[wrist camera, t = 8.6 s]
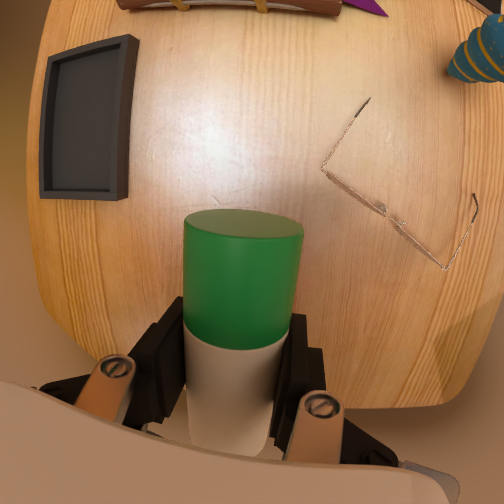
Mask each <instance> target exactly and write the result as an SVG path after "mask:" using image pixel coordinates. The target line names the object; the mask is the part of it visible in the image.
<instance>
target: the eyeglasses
mask: <svg viewBox="0 0 504 504" xmlns="http://www.w3.org/2000/svg"><path fill="white" fill-rule="evenodd" d="M370 98H371V97H370ZM369 100H370V99H369ZM369 100H368V101H367V102H366V103H365V104H364V105H363V106H362V107H361V109H360V110H359V111H358V113H357V114H356V115H355V118H356V117H357V116H358V114H359V113H360V112H361V110H362V109H363V108H364V106H365V105H366V104H367V103H368V102H369ZM355 118H354V119H353V121H354V120H355ZM353 121H352V122H351V123H350V125H349V126H348V128H347V129H346V131H345V132H344V134H343V135H342V137H341V138H340V140H339V141H338V142H337V144H336V145H335V147H334V148H333V150H332V151H331V153H330V154H329V156H328V157H327V158H326V160H325V161H324V163H323V164H322V167H321V171H322V172H324V173H325V174H326V176H327V177H328V178H329V179H330V180H331V181H332V182H334V183H335V184H336V185H337V186H339V187H340V188H341V189H343V190H344V191H345V192H347V193H348V194H349V195H351V196H352V197H354V198H355V199H356V200H358V201H359V202H361V203H362V204H364V205H365V206H366V207H368V208H370V209H371V210H373V211H375V212H377V213H378V214H380V215H382V216H384V217H387V218H389V219H391V220H393V221H394V222H395V223H396V224H397V225H398V226H396V227H395V230H396V231H397V232H398V233H399V234H400V235H401V236H403V237H404V238H405V239H406V240H407V241H408V242H409V243H411V244H412V245H413V246H414V247H415V248H416V249H418V250H419V251H420V252H421V253H423V254H424V255H425V256H427V257H428V258H430V259H431V260H433V261H434V262H436V263H437V264H438V265H440V266H441V268H442V269H443V270H445V271H446V270H447V269H448V268H449V266H450V265H451V263H452V261H453V259H454V258H455V256H456V254H457V252H458V250H459V248H460V247H461V245H462V243H463V241H464V239H465V237H466V235H467V233H468V231H469V229H470V227H471V225H472V223H473V222H474V220H475V217H476V215H477V212H478V203H477V200H476V197H475V193H474V194H473V197H474V199H475V202H476V205H477V210H476V213H475V215H474V217H473V220H472V222H471V224H470V226H469V228H468V230H467V232H466V234H465V236H464V237H463V239H462V241H461V243H460V245H459V246H458V248H457V250H456V252H455V253H454V255H453V257H452V258H451V260H450V262H449V263H448V265H447V267H446V268H445V267H444V266H443V265H442V264H441V263H440V262H439V261H438V260H437V259H436V258H434V257H433V256H432V255H431V254H430V253H429V252H428V251H427V250H426V249H425V248H424V247H422V246H421V245H420V244H419V243H418V242H417V241H416V240H415V239H414V238H412V237H411V236H410V235H409V234H408V233H407V232H405V231H404V230H403V229H402V228H401V226H402V225H403V224H407V222H397V221H395V220H394V219H393V218H391V217H389V216H386V215H385V214H384V212H388V209H387V206H386V204H384V203H379V204H378V205H377V206H378V208H379V209H380V210H381V211H383V212H381V211H380V210H379V209H378V208H376V207H375V206H374V205H372V204H371V203H370V202H368V201H367V200H366V199H365V198H363V197H362V196H361V195H359V194H358V193H357V192H355V191H354V190H353V189H351V188H350V187H349V186H347V185H346V184H345V183H343V182H342V181H341V180H339V179H338V178H337V177H335V176H334V175H333V174H331V173H329V172H326V171H325V170H323V167H324V166H325V164H326V163H327V161H328V160H329V158H330V157H331V155H332V154H333V152H334V150H335V149H336V147H337V146H338V144H339V143H340V141H341V140H342V138H343V137H344V135H345V133H346V132H347V130H348V129H349V127H350V126H351V124H352V123H353ZM399 224H400V225H399Z"/></svg>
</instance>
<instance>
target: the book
mask: <svg viewBox="0 0 504 504" xmlns="http://www.w3.org/2000/svg"><path fill="white" fill-rule="evenodd" d="M116 1H117V4H118V6H119V7H120V9H122V10H126V9H132V8H139V7H165V6H176V7H177V8H178V9H179V10H180V11H188V10H189V8H190V5H203V4H223V5H248V6H257V9H258V12H259V13H267V12H268V10H269V7H272V8H281V9H289V10H309V11H314V12H320V13H325V14H330V15H334V16H339V14H340V10H341V5H342V0H116ZM343 1H345V2H347V3H350V4H352V5H354V6H357V7H359V8H362V9H365V10H367V11H370V12H373V13H377V14H380V15H384V16H387V17H389V16H388V15H387V14H386V13H385V12H384V11H383V10H382V8H381V7H380V6H379V5H378V4H377V3H376V2H375V1H374V0H343Z"/></svg>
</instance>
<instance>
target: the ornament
mask: <svg viewBox="0 0 504 504" xmlns="http://www.w3.org/2000/svg"><path fill="white" fill-rule="evenodd" d="M447 73H448V75H449V76H452V77H455V78H457V79H459V80H461V81H463V82H467V83H477V82H479V81H481V82H487V83H492V82H497V81H500V82H503V83H504V15H502V14H492V15H489V16H488V17H487V18H486V19H485V20H484V22H483V24H482V27H477V28H475V29H474V30H472V32H471V33H470V35H469V38H468V40H467V41H464V42H462V43H461V44H460V45H459V47H458V48H457V50H456V52H455V54H454V56H453V58H452V60H451V61H450V63H449V66H448V68H447Z"/></svg>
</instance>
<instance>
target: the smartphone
mask: <svg viewBox="0 0 504 504" xmlns="http://www.w3.org/2000/svg"><path fill="white" fill-rule="evenodd" d="M467 1H469V2H470V3H472V4H473V5H474V6H476V7H477V8H479V9H480V10H481V11H483V12H484V13H486V14H487V15H488V16H489V15H492V14H502V0H467Z"/></svg>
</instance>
